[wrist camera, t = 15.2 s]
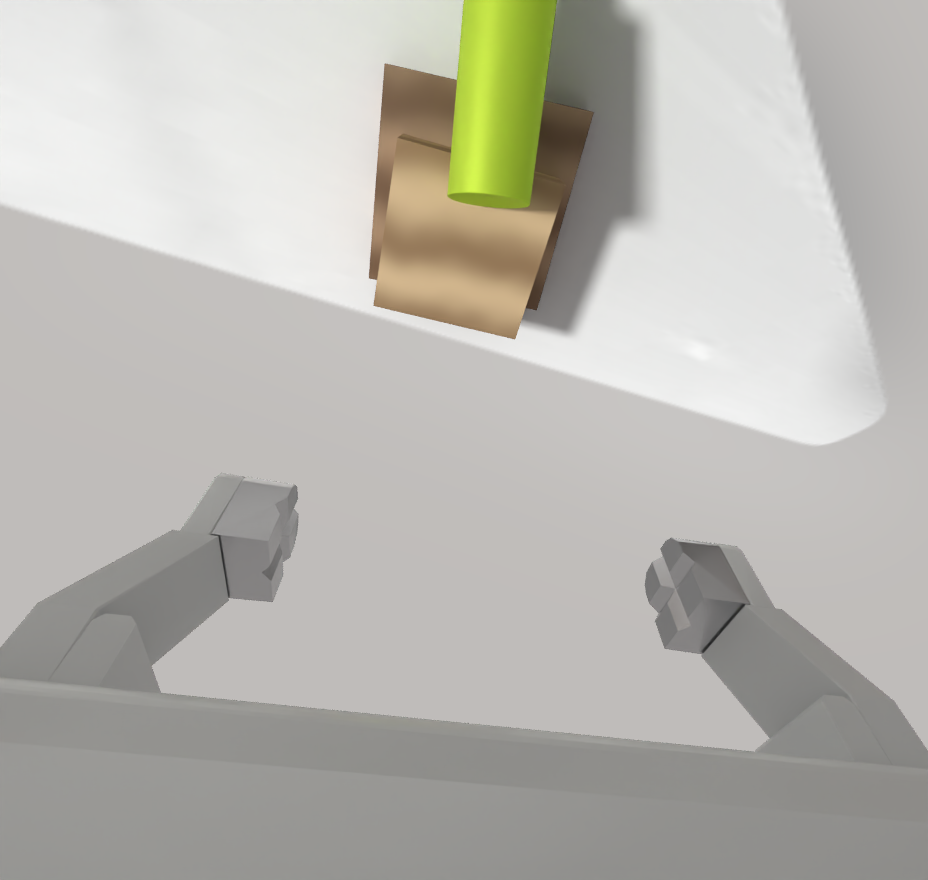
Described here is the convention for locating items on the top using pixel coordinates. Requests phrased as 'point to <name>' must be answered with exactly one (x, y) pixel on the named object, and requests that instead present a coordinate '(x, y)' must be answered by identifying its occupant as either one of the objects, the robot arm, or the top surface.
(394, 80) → the walnut base slab
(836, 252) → the top surface
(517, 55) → the soap dispenser
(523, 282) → the oak top slab
